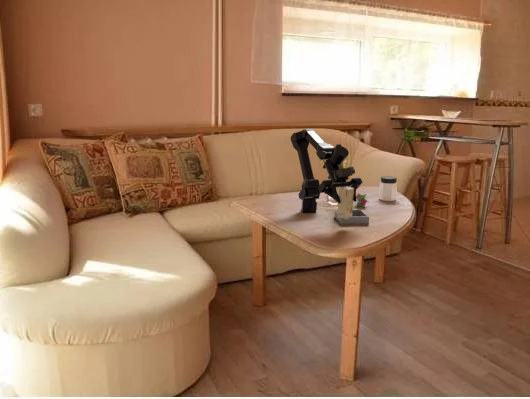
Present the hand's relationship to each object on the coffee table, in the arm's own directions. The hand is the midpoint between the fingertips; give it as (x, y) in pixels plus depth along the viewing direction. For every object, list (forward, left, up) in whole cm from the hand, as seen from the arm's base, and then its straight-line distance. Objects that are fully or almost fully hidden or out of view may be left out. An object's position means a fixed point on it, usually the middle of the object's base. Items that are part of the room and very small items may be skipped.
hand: (347, 202), depth 187 cm
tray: (+6, +13, -12) cm, 18 cm away
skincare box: (0, +1, -7) cm, 7 cm away
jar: (+37, +53, -12) cm, 66 cm away
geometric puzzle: (+18, +38, -12) cm, 44 cm away
